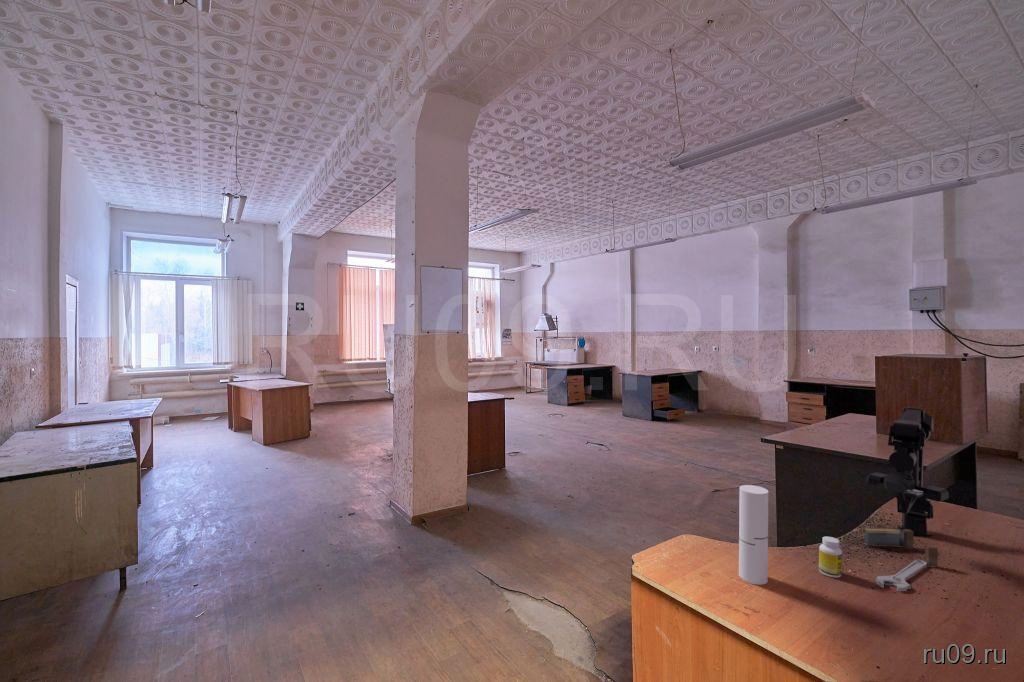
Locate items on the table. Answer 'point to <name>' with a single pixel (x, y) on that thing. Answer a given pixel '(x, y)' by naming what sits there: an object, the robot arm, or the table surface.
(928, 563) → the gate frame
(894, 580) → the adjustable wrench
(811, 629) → the table surface
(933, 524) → the table surface
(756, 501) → the cylindrical container
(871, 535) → the gate panel
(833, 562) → the supplement bottle
